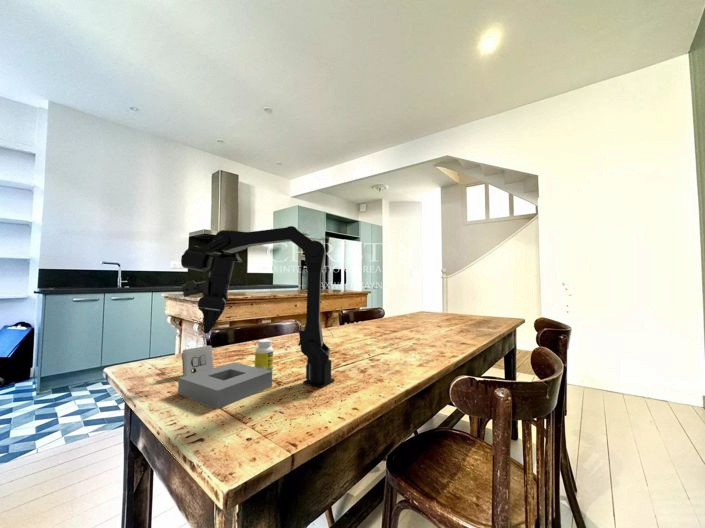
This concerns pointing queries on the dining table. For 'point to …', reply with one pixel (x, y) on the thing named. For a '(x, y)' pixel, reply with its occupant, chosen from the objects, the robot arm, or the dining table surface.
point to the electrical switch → (197, 360)
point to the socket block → (224, 384)
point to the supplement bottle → (264, 355)
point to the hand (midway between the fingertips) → (208, 329)
